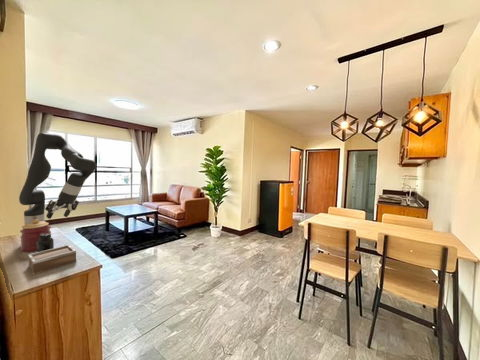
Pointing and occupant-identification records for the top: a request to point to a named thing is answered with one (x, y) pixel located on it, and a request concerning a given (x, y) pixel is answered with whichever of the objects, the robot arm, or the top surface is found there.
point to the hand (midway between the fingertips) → (57, 217)
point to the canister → (33, 234)
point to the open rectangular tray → (51, 258)
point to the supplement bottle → (45, 242)
